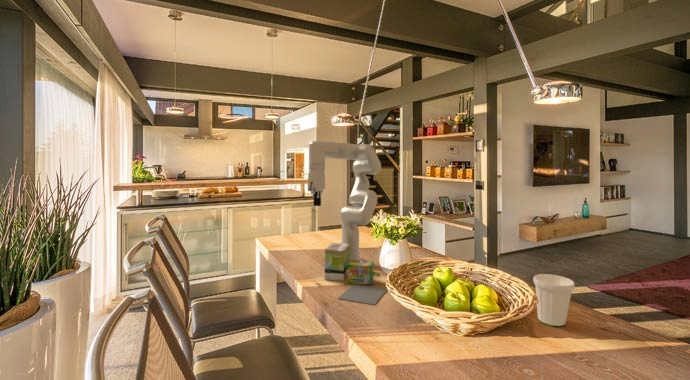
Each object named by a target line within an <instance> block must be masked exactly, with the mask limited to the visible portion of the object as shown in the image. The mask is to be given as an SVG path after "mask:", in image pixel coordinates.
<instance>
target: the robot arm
mask: <svg viewBox="0 0 690 380" xmlns="http://www.w3.org/2000/svg"><path fill="white" fill-rule="evenodd" d="M326 158H329V159H338V160H349V161H350V160H352V161H354V162H353V163H352V172H353V175H354V178H355V179H354V183H353V184H354V185H353V187H352V189H351V192H350V194H349V197H348V203H349V204H350V205H346V206H343V207H342V208H341V209H340V212H339V216H340V224H341V243H342V244H350V260H362V259H360V254H361V253H360V229H359V227H358V225H360V226H366V225H369V224H370V222H371V220H372V217H373V214H374V212H375V209H376V206H377V203H378V196H377V193H376V192H375V191H374V190H372V189H371V190H370V189H369V188H370V181H369V179H368V177H367V175H379V174H380V172H381V171H382V162H381V161H380V159H379V156H378V155H377V153H376V151H375V149H374V147H372V145H370V144H367V143H364V144H355V143H348V142H336V141H332V140H331V141H329V140H328V141H327V140H326V141H324V140H321V141H320V140H315V141H314V140H313V141H310V142H309V143H308V176H307V191H308V192H310V195H312V197H313V206H314V207H321V206H322V194H323V193H324V191H325V189H326V175H325V170H326V164H325V163H326ZM370 219H371V220H370Z"/></svg>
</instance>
